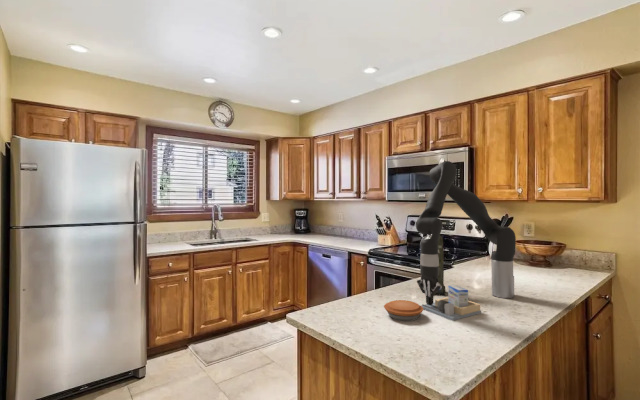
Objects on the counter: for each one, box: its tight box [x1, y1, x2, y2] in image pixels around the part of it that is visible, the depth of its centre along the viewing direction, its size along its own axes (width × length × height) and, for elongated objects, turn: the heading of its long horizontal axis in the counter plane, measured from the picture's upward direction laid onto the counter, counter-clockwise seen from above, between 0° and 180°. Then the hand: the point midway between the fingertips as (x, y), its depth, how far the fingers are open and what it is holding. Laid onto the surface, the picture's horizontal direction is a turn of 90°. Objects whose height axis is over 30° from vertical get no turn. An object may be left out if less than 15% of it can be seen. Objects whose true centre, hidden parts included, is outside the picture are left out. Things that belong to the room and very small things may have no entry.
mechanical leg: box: [430, 235, 446, 297], centre depth 166 cm, size 14×7×30 cm, turn 168°
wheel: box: [437, 300, 449, 312], centre depth 133 cm, size 4×3×4 cm, turn 118°
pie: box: [383, 299, 424, 322], centre depth 133 cm, size 15×16×5 cm
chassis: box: [420, 296, 482, 322], centre depth 138 cm, size 17×17×5 cm
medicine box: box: [447, 284, 469, 308], centre depth 138 cm, size 8×4×9 cm, turn 10°
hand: (429, 304), depth 140 cm, fingers closed
